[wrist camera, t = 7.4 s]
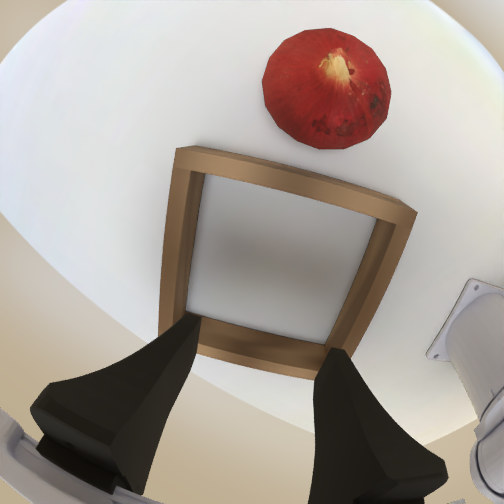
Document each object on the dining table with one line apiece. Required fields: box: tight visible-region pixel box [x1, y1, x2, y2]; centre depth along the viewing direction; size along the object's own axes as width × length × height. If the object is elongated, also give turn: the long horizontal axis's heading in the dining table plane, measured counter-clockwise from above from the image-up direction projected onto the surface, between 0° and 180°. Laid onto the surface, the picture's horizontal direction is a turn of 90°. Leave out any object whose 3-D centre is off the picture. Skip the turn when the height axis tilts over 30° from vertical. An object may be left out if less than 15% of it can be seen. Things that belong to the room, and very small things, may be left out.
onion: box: [262, 28, 391, 149], centre depth 11 cm, size 6×6×8 cm
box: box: [158, 146, 418, 380], centre depth 17 cm, size 13×13×3 cm
